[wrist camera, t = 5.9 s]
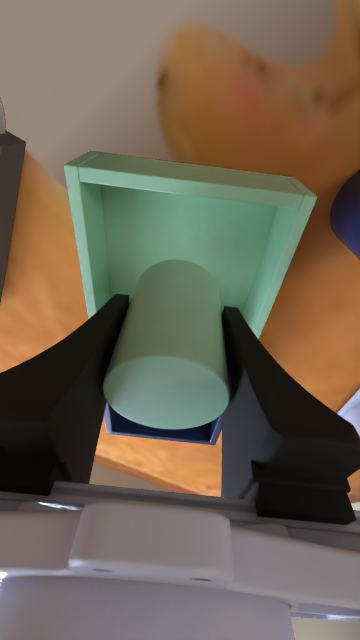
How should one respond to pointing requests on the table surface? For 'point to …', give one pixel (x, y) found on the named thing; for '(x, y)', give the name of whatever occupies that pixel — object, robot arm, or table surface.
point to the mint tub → (185, 226)
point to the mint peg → (171, 350)
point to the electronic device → (8, 187)
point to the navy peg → (348, 214)
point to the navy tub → (126, 427)
